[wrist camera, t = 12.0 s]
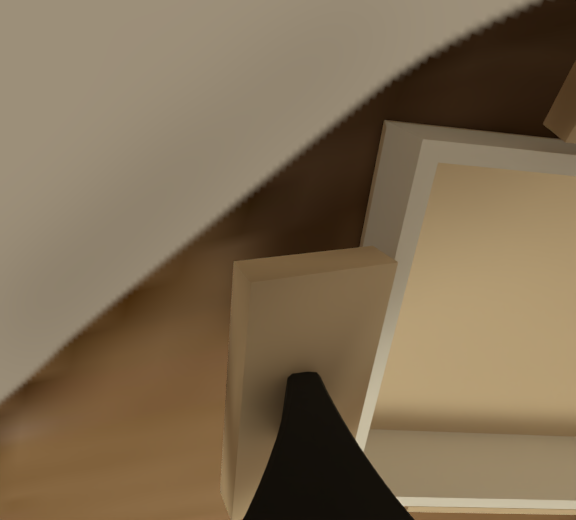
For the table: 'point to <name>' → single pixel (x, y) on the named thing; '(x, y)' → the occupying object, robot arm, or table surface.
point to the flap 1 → (296, 348)
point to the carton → (474, 321)
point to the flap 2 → (564, 110)
